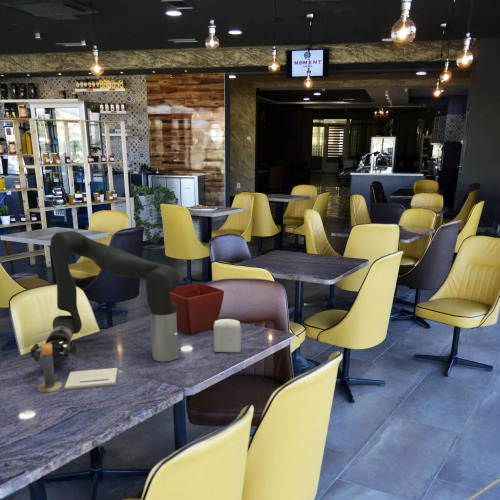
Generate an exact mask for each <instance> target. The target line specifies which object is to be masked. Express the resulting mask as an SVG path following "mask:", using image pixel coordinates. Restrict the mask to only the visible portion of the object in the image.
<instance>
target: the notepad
mask: <svg viewBox="0 0 500 500" xmlns="http://www.w3.org/2000/svg"><path fill="white" fill-rule="evenodd" d="M118 371H119V368H118V367H112V368H102V369H101V368H100V369H90V370H77V371H70V373H68V376H67V379H66V382H65V384H64V386H63V391H70V390H71V391H72V390H73V391H74V390H83V389H93V388H94V387H95V388H104V387H115V386H117V383H118V375H119V372H120V371H119V372H118Z"/></svg>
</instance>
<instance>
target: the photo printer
mask: <svg viewBox="0 0 500 500" xmlns="http://www.w3.org/2000/svg"><path fill="white" fill-rule="evenodd" d="M240 323H241V322H240V321H239V320H237V319H234V318H233V319H231V318H223V319H222V318H221V319H218V320H217V321H215V324H214V329H213V351H214V352H216V353H240V352H241V351H242V326H241V324H240Z"/></svg>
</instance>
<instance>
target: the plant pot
mask: <svg viewBox="0 0 500 500" xmlns="http://www.w3.org/2000/svg"><path fill="white" fill-rule="evenodd" d="M224 295H225V290H223V289H221V288H217V287H215V286H211V285H208V284H205V283H201V282H197V283H196V282H195V283H190V284H186V285H180V286H179V285H178V286H177V287H176V288H174V289H173V290H171V291H170V298H171V301H173V302H175V303H176V312H177V330H179V331H181V332H183V333H185V334H187V335H194V334H199V333H203V332H206V331H209V330H214V324H215V321H217V320H219V316H220V313H221V309H222V306H223V301H224Z"/></svg>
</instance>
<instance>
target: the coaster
mask: <svg viewBox="0 0 500 500" xmlns="http://www.w3.org/2000/svg"><path fill="white" fill-rule="evenodd" d="M62 387H63V384H62V382H61V381H57V380H55V386H54V387H51V388H46V387H45V382H43V383H41V384H40V385H39V386H38V388H37V389H38V392H40V393H44V394H45V393H47V394H49V393H53V392H56V391H58V390H61V388H62Z"/></svg>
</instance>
